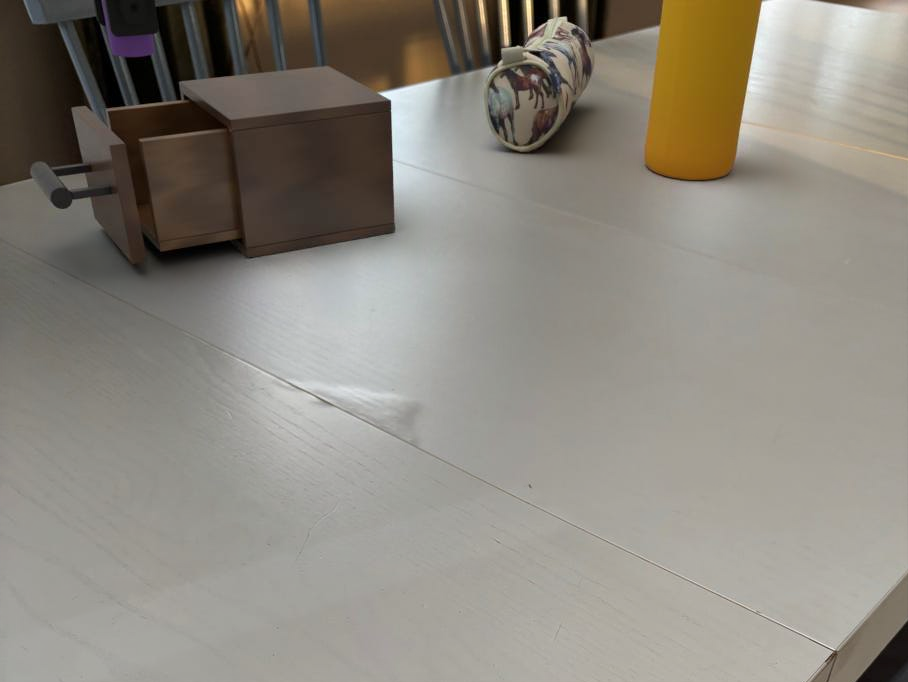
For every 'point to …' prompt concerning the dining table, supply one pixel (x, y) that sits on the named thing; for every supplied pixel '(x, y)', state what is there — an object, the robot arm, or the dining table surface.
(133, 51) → the glue stick
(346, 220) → the cabinet
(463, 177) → the dining table surface
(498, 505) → the dining table surface
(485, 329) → the dining table surface
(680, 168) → the yellow rounded cylinder
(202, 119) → the drawer
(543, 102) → the pencil case
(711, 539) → the dining table surface
